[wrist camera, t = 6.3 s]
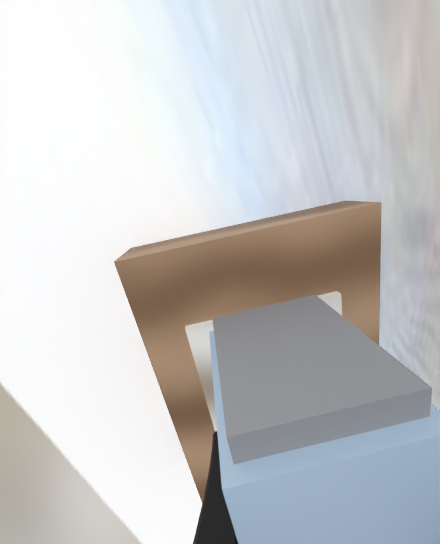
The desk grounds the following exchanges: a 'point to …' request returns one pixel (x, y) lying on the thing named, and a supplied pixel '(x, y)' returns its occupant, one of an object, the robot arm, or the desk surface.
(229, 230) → the stand
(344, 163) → the desk surface
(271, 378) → the block
